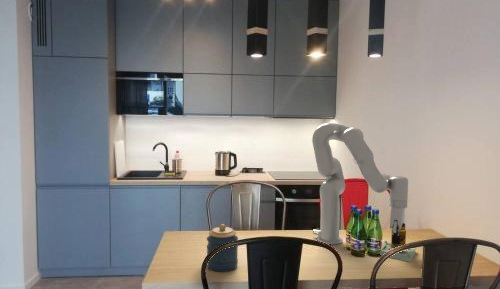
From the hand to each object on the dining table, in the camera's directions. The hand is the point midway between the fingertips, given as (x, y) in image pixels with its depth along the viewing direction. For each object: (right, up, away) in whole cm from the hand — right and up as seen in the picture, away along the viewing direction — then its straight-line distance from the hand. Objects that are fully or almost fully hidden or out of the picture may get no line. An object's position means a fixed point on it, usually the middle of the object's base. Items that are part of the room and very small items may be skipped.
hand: (397, 241), depth 162 cm
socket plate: (0, -6, 0) cm, 6 cm away
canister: (-80, -6, -16) cm, 82 cm away
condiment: (0, -3, +1) cm, 4 cm away
